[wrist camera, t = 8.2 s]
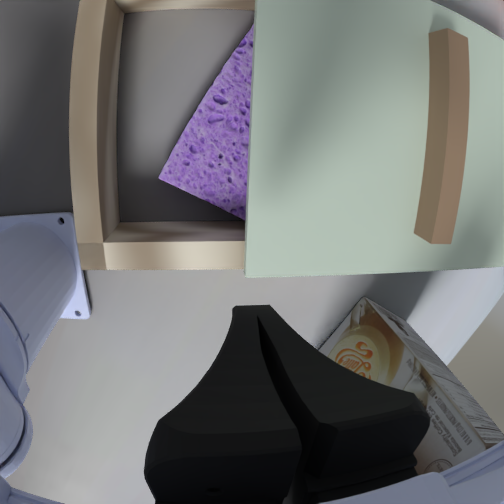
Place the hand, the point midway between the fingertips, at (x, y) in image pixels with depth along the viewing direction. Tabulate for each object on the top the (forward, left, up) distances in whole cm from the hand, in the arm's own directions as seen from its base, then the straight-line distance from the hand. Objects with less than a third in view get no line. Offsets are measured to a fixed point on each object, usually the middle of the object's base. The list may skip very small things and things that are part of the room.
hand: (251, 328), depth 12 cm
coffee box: (+11, -10, -10) cm, 18 cm away
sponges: (+2, +8, -10) cm, 13 cm away
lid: (+11, +8, -6) cm, 15 cm away
